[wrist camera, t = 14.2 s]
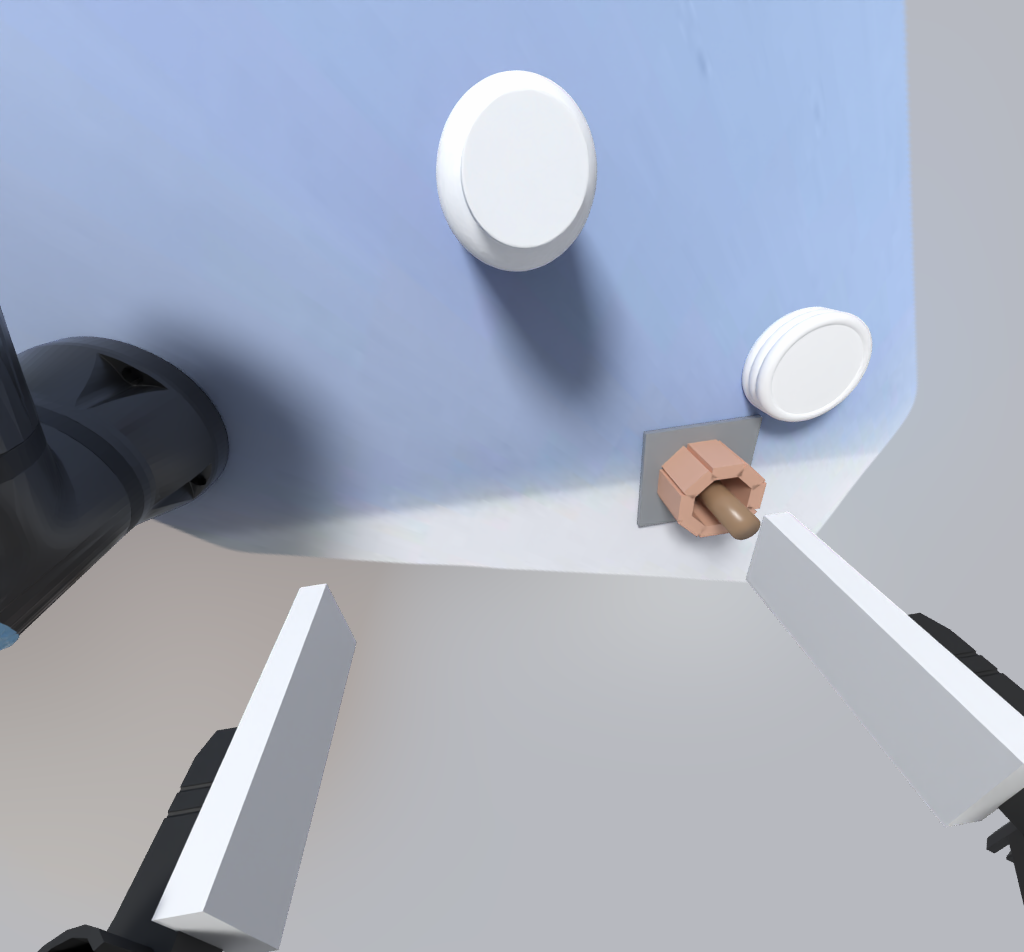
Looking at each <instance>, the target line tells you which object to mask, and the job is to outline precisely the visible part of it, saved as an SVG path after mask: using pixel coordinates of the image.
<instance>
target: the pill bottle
mask: <svg viewBox="0 0 1024 952" xmlns="http://www.w3.org/2000/svg"><path fill="white" fill-rule="evenodd" d="M436 181H437V190H438V195H439V199H440V204H441V207H442V210H443V213H444V216H445V218H446V220H447V222H448V225H449V227H450V229H451V230H452V232H453V233H454V235H455V237H456V238H457V239H458V241H459V242H460V243H461V244H462V246H463V247H464V248H465V249H466V250H467V251H468V252H470V253H471V254H472V255H473V256H474V257H476V258H477V259H478V260H480V261H482V262H483V263H485V264H487V265H490V266H492V267H494V268H497V269H501V270H506V271H515V272H519V271H528V270H532V269H536V268H539V267H542V266H544V265H546V264H548V263H550V262H551V261H553V260H555V259H556V258H557V257H559V256H560V255H561V254H563V253H564V252H565V251H566V250H567V249H568V248H569V247H570V245H571V244H572V243H573V242H574V241H575V239H576V238H577V237H578V235H579V234H580V232H581V230H582V228H583V227H584V225H585V223H586V220H587V218H588V215H589V213H590V209H591V206H592V203H593V199H594V195H595V189H596V181H597V161H596V152H595V147H594V142H593V138H592V135H591V131H590V129H589V126H588V124H587V121H586V119H585V117H584V115H583V114H582V112H581V110H580V108H579V107H578V105H577V104H576V103H575V101H574V100H573V99H572V98H571V97H570V95H569V94H568V93H567V92H566V91H565V90H564V89H563V88H561V87H560V86H559V85H557V84H556V83H554V82H553V81H551V80H550V79H548V78H546V77H544V76H541V75H539V74H536V73H532V72H527V71H505V72H500V73H497V74H494V75H491V76H489V77H487V78H485V79H483V80H481V81H480V82H479V83H477V84H476V85H474V86H473V87H472V88H471V89H469V90H468V91H467V92H466V93H465V94H464V95H463V97H462V98H461V99H460V100H459V101H458V103H457V104H456V106H455V107H454V109H453V110H452V112H451V114H450V116H449V117H448V120H447V122H446V124H445V126H444V129H443V132H442V135H441V139H440V143H439V148H438V154H437V163H436Z"/></svg>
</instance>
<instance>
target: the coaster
mask: <svg viewBox="0 0 1024 952" xmlns="http://www.w3.org/2000/svg"><path fill="white" fill-rule="evenodd" d="M871 352H872V337H871V333H870V331H869V329H868V327H867V325H866V324H865V323H864V322H863V321H862V320H861V319H859V318H858V317H857V316H855V315H853V314H850V313H847V312H841V311H838V310H833V309H829V308H825V307H809V308H804V309H799V310H796V311H793V312H791V313H789V314H787V315H785V316H783V317H782V318H780V319H778V320H777V321H775V322H774V323H773V324H771V325H770V326H769V327H768V328H767V329H766V330H765V331H764V332H763V333H762V334H761V335H760V336H759V338H758V339H757V340H756V342H755V343H754V345H753V346H752V348H751V349H750V351H749V353H748V355H747V358H746V361H745V364H744V367H743V372H742V387H743V390H744V393H745V395H746V397H747V399H748V400H749V401H750V403H751V404H752V405H754V406H755V407H757V408H758V409H760V410H761V411H763V412H765V413H766V414H768V415H769V416H771V417H773V418H775V419H777V420H781V421H786V422H800V421H805V420H809V419H812V418H815V417H817V416H820V415H822V414H824V413H826V412H828V411H829V410H831V409H832V408H834V407H835V406H836V405H838V404H839V403H840V402H842V401H843V400H844V399H845V398H846V397H847V396H848V395H849V394H850V393H851V392H852V391H853V389H854V388H855V387H856V386H857V384H858V383H859V381H860V380H861V378H862V377H863V375H864V373H865V371H866V369H867V366H868V364H869V361H870V357H871Z"/></svg>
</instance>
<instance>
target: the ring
mask: <svg viewBox="0 0 1024 952" xmlns="http://www.w3.org/2000/svg"><path fill="white" fill-rule="evenodd" d="M662 467H663V469H661V470H659V480H658V489H657V493H658V496H659V497H660V498H661V500H662V501H663V503H664V504H665V505H666V507H667V508H668V509H669V511H670V512H671V514H672V515H673V516H674V518H675V519H676V520H677V522H678V523H679V524H680V525H681V526H683V527H684V528H685V529H687V530H688V531H690V532H691V533H692V534H694V535H695V536H696V537H697V536H698V535H699V536H700V537H706V536H712V535H719V534H725V533H729V532H728V531H727V530H726V528H725V527H724V526H723V525H722V524H721V523H720V522H719V520H718V519H717V518H716V517H715V516H714V515H713V513H712V512H711V511H710V510H709V509H708V508H707V507H706V505H705V504H704V503H703V502H702V501H701V500H700V499H699V497H698V496H697V495H698V494H699V493H701V492H702V491H703V490H704V489H705V488H706V487H707V486H709V485H710V484H711V483H712V482H713V481H714V480H720V482H721V483H722V484H723V485H724V486H725V487H726V488H727V489H728V490H729V491H730V492H731V493H732V494H733V495H734V496H735V497H736V498H737V499H738V500H739V501H740V502H741V503H742V504H743V505H744V506H745V507H746V508H747V509H748V510H749V511H750V512H752V513H753V514H755V513H756V512H757V511H756V510H755V509H758V508H760V505H761V501H762V498H763V494H764V491H765V487H766V483H765V482H764V481H765V479H764V478H763V477H762V476H761V475H759V474H758V473H757V472H756V471H755V470H754V469H753V468H752V467H751V466H750V465H749V464H747V463H746V462H745V461H744V460H743V459H741V458H740V457H739V456H738V455H737V454H735V453H734V452H733V451H732V450H731V449H729V448H728V447H727V446H726V445H725V444H723V443H722V442H721V441H720V440H719V441H717V440H716V439H715V440H708V441H701V442H695V443H688V444H687V448H686V447H685V446H683V447H682V448H680V449H679V450H678V451H677V452H676V453H675V454H674V455H673V456H672V457H671V458H670V459H669V460H668V461H667V462H665V463H664V464H663V465H662Z"/></svg>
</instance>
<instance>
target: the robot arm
mask: <svg viewBox="0 0 1024 952" xmlns="http://www.w3.org/2000/svg"><path fill="white" fill-rule="evenodd" d="M227 458H228V438H227V433H226V430H225V427H224V424H223V422H222V419H221V417H220V415H219V413H218V412H217V410H216V408H215V407H214V405H213V404H212V402H211V401H210V400H209V398H208V397H207V396H206V395H205V394H204V392H203V391H202V390H201V389H200V388H199V387H198V386H197V385H196V384H195V383H194V382H193V381H192V380H191V379H190V378H188V377H187V376H186V375H185V374H184V373H182V372H181V371H180V370H178V369H177V368H175V367H174V366H172V365H171V364H170V363H168V362H166V361H165V360H163V359H161V358H159V357H157V356H156V355H154V354H152V353H150V352H147V351H145V350H143V349H141V348H138V347H135V346H133V345H130V344H127V343H123V342H120V341H116V340H111V339H106V338H99V337H70V338H64V339H60V340H56V341H53V342H49V343H46V344H42V345H39V346H35V347H33V348H30V349H28V350H26V351H24V352H22V353H20V354H18V355H17V354H16V352H15V349H14V346H13V343H12V340H11V337H10V334H9V331H8V328H7V325H6V322H5V319H4V316H3V313H2V310H1V307H0V650H2V649H5V648H7V647H10V646H11V645H13V644H14V643H15V642H16V641H17V640H18V638H19V635H20V634H21V633H22V632H23V631H24V630H25V629H26V628H27V627H28V626H30V625H31V624H32V623H33V622H34V621H35V620H36V619H37V618H38V617H39V616H40V615H41V614H42V613H43V612H44V611H45V610H46V609H47V608H48V607H50V606H51V605H52V604H53V603H54V602H55V601H56V600H57V599H58V598H59V597H60V596H61V595H62V594H63V593H64V592H65V591H66V590H67V589H68V588H70V587H71V586H72V585H73V584H74V583H75V582H76V581H77V580H78V579H79V578H80V577H81V576H82V575H83V574H84V573H85V572H87V571H88V570H89V569H90V568H91V567H92V566H93V565H94V564H95V563H96V562H97V561H98V560H99V559H100V558H101V557H102V556H103V555H104V554H106V553H107V552H108V551H109V550H110V549H111V548H112V547H113V546H114V545H115V544H116V543H117V542H118V541H119V540H120V539H121V538H122V537H123V536H124V535H125V534H127V533H128V532H129V531H130V530H131V529H132V528H133V527H135V526H136V525H138V524H140V523H142V522H145V521H147V520H150V519H152V518H154V517H157V516H159V515H161V514H164V513H166V512H168V511H171V510H173V509H176V508H178V507H180V506H183V505H185V504H187V503H189V502H191V501H193V500H194V499H196V498H197V497H199V496H200V495H201V494H202V493H204V492H205V491H206V490H207V489H208V488H209V487H210V486H211V485H212V484H213V482H214V481H215V480H216V479H217V478H218V477H219V476H220V474H221V473H222V471H223V469H224V467H225V465H226V462H227ZM746 581H747V582H748V583H749V584H750V586H751V587H752V588H753V589H754V590H755V592H756V593H757V594H758V595H759V597H760V598H761V599H762V600H763V602H764V603H765V604H766V605H767V607H768V608H769V609H770V610H771V612H772V613H773V614H774V615H775V616H776V618H777V619H778V620H779V622H780V623H781V624H782V625H783V626H784V628H785V629H786V630H787V632H788V633H789V634H790V635H791V637H792V638H793V639H794V640H795V641H796V643H797V644H798V645H799V646H800V648H801V649H802V650H803V652H804V653H805V654H806V655H807V656H808V658H809V659H810V660H811V661H812V663H813V664H814V665H815V666H816V668H817V669H818V670H819V671H820V673H821V674H822V675H823V676H824V678H825V679H826V680H827V681H828V683H829V684H830V685H831V686H832V688H833V689H834V690H835V691H836V693H837V694H838V695H839V696H840V698H841V699H842V700H843V701H844V703H845V704H846V705H847V706H848V708H849V709H850V710H851V711H852V712H853V714H854V715H855V716H856V718H857V719H858V720H859V721H860V722H861V724H862V725H863V726H864V727H865V729H866V730H867V731H868V732H869V734H870V735H871V736H872V737H873V739H874V740H875V741H876V742H877V744H878V745H879V746H880V747H881V749H882V750H883V751H884V752H885V753H886V755H887V756H888V757H889V759H890V760H891V761H892V762H893V764H894V765H895V766H896V767H897V768H898V770H899V771H900V772H901V773H902V775H903V776H904V777H905V779H906V780H907V781H908V782H909V783H910V785H911V786H912V787H913V789H914V790H915V791H916V792H917V793H918V795H919V796H920V797H921V798H922V799H923V801H924V802H925V803H926V805H927V806H928V807H929V808H930V810H931V811H932V812H933V813H934V815H935V816H936V817H937V818H938V820H939V821H940V822H941V823H942V825H943V826H944V827H949V826H955V825H960V824H965V823H971V822H977V821H981V820H983V819H984V818H986V817H987V816H988V815H990V814H991V813H992V812H994V811H995V810H996V809H998V808H999V809H1000V810H1001V811H1002V812H1003V813H1004V815H1005V816H1006V817H1007V818H1008V819H1009V820H1010V822H1009V823H1007V824H1006V825H1004V826H1003V827H1001V828H1000V829H998V830H997V831H995V832H994V833H993V834H992V835H991V836H989V837H988V838H987V850H989V851H991V852H993V853H996V852H998V851H999V850H1001V849H1002V848H1003V847H1005V846H1007V845H1010V848H1011V851H1010V852H1009V854H1008V855H1007V857H1006V858H1007V860H1009V861H1011V862H1013V863H1014V865H1015V870H1016V874H1017V878H1018V882H1019V887H1020V891H1021V895H1022V899H1023V904H1024V690H1023V689H1021V688H1020V687H1019V686H1018V685H1016V684H1015V683H1014V682H1013V681H1012V680H1011V679H1009V678H1008V677H1007V676H1006V675H1004V674H1003V673H999V672H998V671H997V668H996V667H995V666H994V665H992V664H991V663H990V662H989V661H988V660H986V659H985V658H984V657H983V656H981V655H977V654H976V651H975V650H974V649H973V648H972V647H971V646H969V645H968V644H967V643H966V642H965V641H963V640H962V639H961V638H960V637H958V636H957V635H956V634H955V633H954V632H952V631H951V630H950V629H948V628H946V627H945V626H943V625H941V624H939V623H937V622H935V621H934V620H932V619H930V618H928V617H927V616H925V615H923V614H921V613H917V614H910V615H906V613H904V612H903V611H902V610H901V609H900V608H899V607H897V606H896V605H895V604H894V603H893V602H892V601H891V600H890V599H888V598H887V597H886V596H885V595H884V594H883V593H882V592H880V591H879V590H878V589H877V588H876V587H875V586H874V585H872V584H871V583H870V582H869V581H868V580H867V579H865V578H864V577H863V576H862V575H861V574H860V573H859V572H857V571H856V570H855V569H854V568H853V567H852V566H851V565H849V564H848V563H847V562H846V561H845V560H844V559H843V558H841V557H840V556H839V555H838V554H837V553H836V552H835V551H833V550H832V549H831V548H830V547H829V546H828V545H827V544H825V543H824V542H823V541H822V540H821V539H820V538H819V537H817V536H816V535H815V534H814V533H813V532H812V531H811V530H809V529H808V528H807V527H806V526H805V525H804V524H803V523H801V522H800V521H799V520H798V519H797V518H796V517H795V516H793V515H792V514H791V513H790V512H789V511H788V512H781V513H775V514H768V515H764V517H763V520H762V524H761V527H760V531H759V534H758V538H757V541H756V545H755V548H754V552H753V555H752V559H751V562H750V566H749V569H748V573H747V576H746ZM355 646H356V640H355V638H354V636H353V634H352V632H351V630H350V628H349V626H348V625H347V623H346V621H345V619H344V617H343V615H342V613H341V611H340V609H339V607H338V605H337V603H336V601H335V599H334V597H333V596H332V593H331V591H330V589H329V587H328V585H327V584H319V585H313V586H307V587H301V588H300V589H299V591H298V593H297V596H296V598H295V600H294V602H293V605H292V607H291V609H290V611H289V614H288V616H287V618H286V620H285V623H284V625H283V627H282V629H281V632H280V634H279V636H278V638H277V640H276V643H275V645H274V647H273V649H272V652H271V654H270V656H269V658H268V661H267V663H266V665H265V667H264V670H263V672H262V674H261V676H260V678H259V681H258V683H257V685H256V687H255V690H254V692H253V694H252V696H251V699H250V701H249V703H248V705H247V708H246V710H245V712H244V714H243V717H242V719H241V721H240V723H239V725H238V727H236V728H230V729H224V730H218V731H216V732H215V734H214V735H213V736H212V737H211V738H210V740H209V741H208V742H207V743H206V745H205V746H204V747H203V748H202V749H201V751H200V752H199V753H198V755H197V756H196V757H195V759H194V761H193V763H192V765H191V767H190V769H189V771H188V773H187V775H186V777H185V779H184V781H183V783H182V785H181V790H180V792H179V793H177V794H176V797H175V799H174V801H173V802H172V804H171V806H170V809H169V810H168V816H167V818H165V819H164V820H163V822H162V824H161V826H160V829H159V830H158V832H157V835H156V836H155V838H154V840H153V842H152V844H151V846H150V848H149V851H148V852H147V854H146V856H145V858H144V861H143V862H142V864H141V866H140V868H139V870H138V872H137V874H136V876H135V878H134V880H133V882H132V885H131V886H130V888H129V890H128V892H127V894H126V896H125V898H124V900H123V902H122V904H121V906H120V908H119V910H118V912H117V914H116V916H115V918H114V920H113V921H112V923H111V925H110V927H109V929H108V930H107V931H104V930H101V929H99V928H95V927H92V926H88V925H82V926H79V927H76V928H72V929H69V930H67V931H65V932H63V933H62V934H60V935H59V936H58V937H56V938H55V939H53V940H52V941H50V942H48V943H47V944H46V945H44V946H43V947H42V948H41V949H40V950H39V951H38V952H222V951H224V952H269V951H275V950H279V946H280V942H281V938H282V934H283V930H284V926H285V922H286V919H287V914H288V911H289V907H290V903H291V899H292V895H293V891H294V887H295V883H296V879H297V875H298V871H299V867H300V863H301V859H302V855H303V851H304V847H305V843H306V839H307V835H308V831H309V828H310V824H311V819H312V816H313V812H314V808H315V804H316V800H317V796H318V792H319V788H320V784H321V780H322V776H323V772H324V768H325V764H326V760H327V756H328V752H329V749H330V745H331V741H332V737H333V733H334V729H335V725H336V720H337V716H338V713H339V708H340V705H341V701H342V697H343V693H344V689H345V685H346V681H347V677H348V673H349V669H350V665H351V662H352V658H353V653H354V650H355Z"/></svg>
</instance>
